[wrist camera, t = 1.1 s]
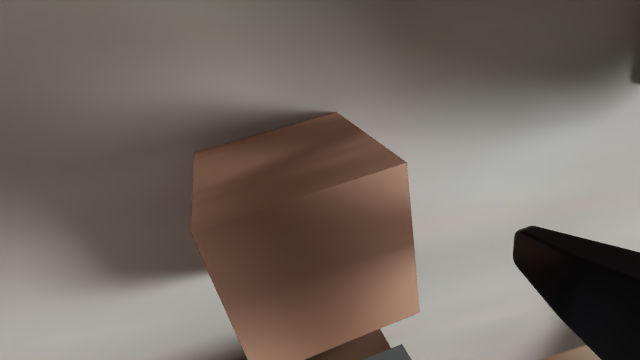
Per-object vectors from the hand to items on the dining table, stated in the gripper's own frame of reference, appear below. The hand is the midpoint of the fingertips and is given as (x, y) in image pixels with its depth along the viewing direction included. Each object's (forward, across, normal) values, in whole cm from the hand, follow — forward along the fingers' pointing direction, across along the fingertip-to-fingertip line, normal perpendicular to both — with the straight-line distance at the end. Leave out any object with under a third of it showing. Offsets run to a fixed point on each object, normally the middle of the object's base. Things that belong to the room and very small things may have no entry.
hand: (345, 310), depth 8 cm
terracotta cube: (+6, 0, 0) cm, 6 cm away
